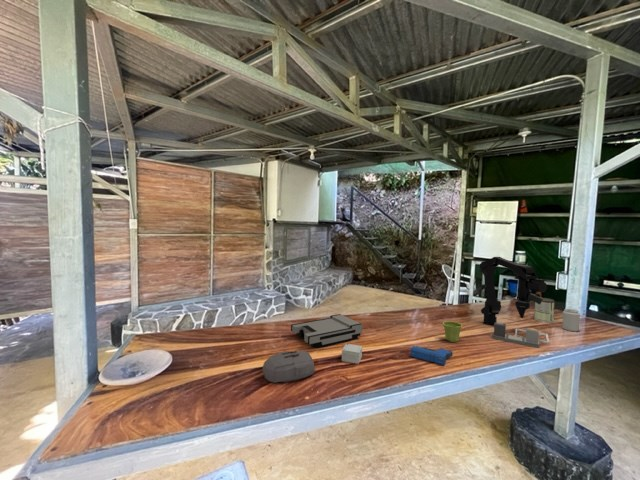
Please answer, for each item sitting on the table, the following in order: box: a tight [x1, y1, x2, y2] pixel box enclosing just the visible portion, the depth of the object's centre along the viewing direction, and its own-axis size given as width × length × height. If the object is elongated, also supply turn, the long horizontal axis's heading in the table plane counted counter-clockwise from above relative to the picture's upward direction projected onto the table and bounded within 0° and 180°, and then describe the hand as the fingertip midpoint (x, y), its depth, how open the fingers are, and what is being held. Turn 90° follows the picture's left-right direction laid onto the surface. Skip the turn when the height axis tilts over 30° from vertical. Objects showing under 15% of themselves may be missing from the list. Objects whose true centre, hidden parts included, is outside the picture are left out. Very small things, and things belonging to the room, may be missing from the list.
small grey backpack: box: [262, 350, 315, 384], centre depth 109 cm, size 15×8×20 cm
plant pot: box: [442, 320, 463, 343], centre depth 147 cm, size 9×9×9 cm
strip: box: [491, 332, 540, 349], centre depth 148 cm, size 20×9×1 cm, turn 53°
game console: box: [290, 313, 363, 349], centre depth 148 cm, size 21×32×8 cm, turn 121°
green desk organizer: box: [533, 297, 556, 323], centre depth 184 cm, size 10×10×14 cm
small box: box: [341, 343, 363, 365], centre depth 124 cm, size 8×8×5 cm
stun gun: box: [409, 345, 454, 366], centre depth 127 cm, size 4×16×15 cm
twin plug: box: [493, 321, 507, 337], centre depth 152 cm, size 5×5×6 cm
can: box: [561, 308, 581, 333], centre depth 165 cm, size 8×8×12 cm
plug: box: [525, 327, 540, 344], centre depth 143 cm, size 5×5×6 cm
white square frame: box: [514, 328, 550, 345], centre depth 154 cm, size 15×15×1 cm
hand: (522, 315), depth 154 cm, fingers open, 9 cm apart
